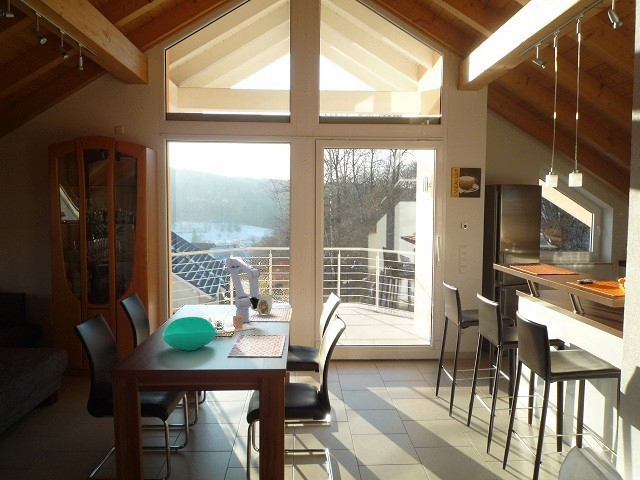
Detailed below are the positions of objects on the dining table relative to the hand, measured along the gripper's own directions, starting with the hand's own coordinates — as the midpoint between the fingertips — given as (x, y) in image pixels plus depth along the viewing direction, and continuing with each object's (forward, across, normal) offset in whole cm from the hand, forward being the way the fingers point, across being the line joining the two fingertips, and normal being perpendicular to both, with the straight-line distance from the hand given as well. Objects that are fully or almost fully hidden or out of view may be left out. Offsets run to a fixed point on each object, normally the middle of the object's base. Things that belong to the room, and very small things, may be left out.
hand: (254, 309), depth 316 cm
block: (+10, -2, +13) cm, 16 cm away
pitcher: (+10, +28, -18) cm, 35 cm away
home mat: (+10, -2, +13) cm, 17 cm away
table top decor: (+11, -31, +51) cm, 61 cm away
